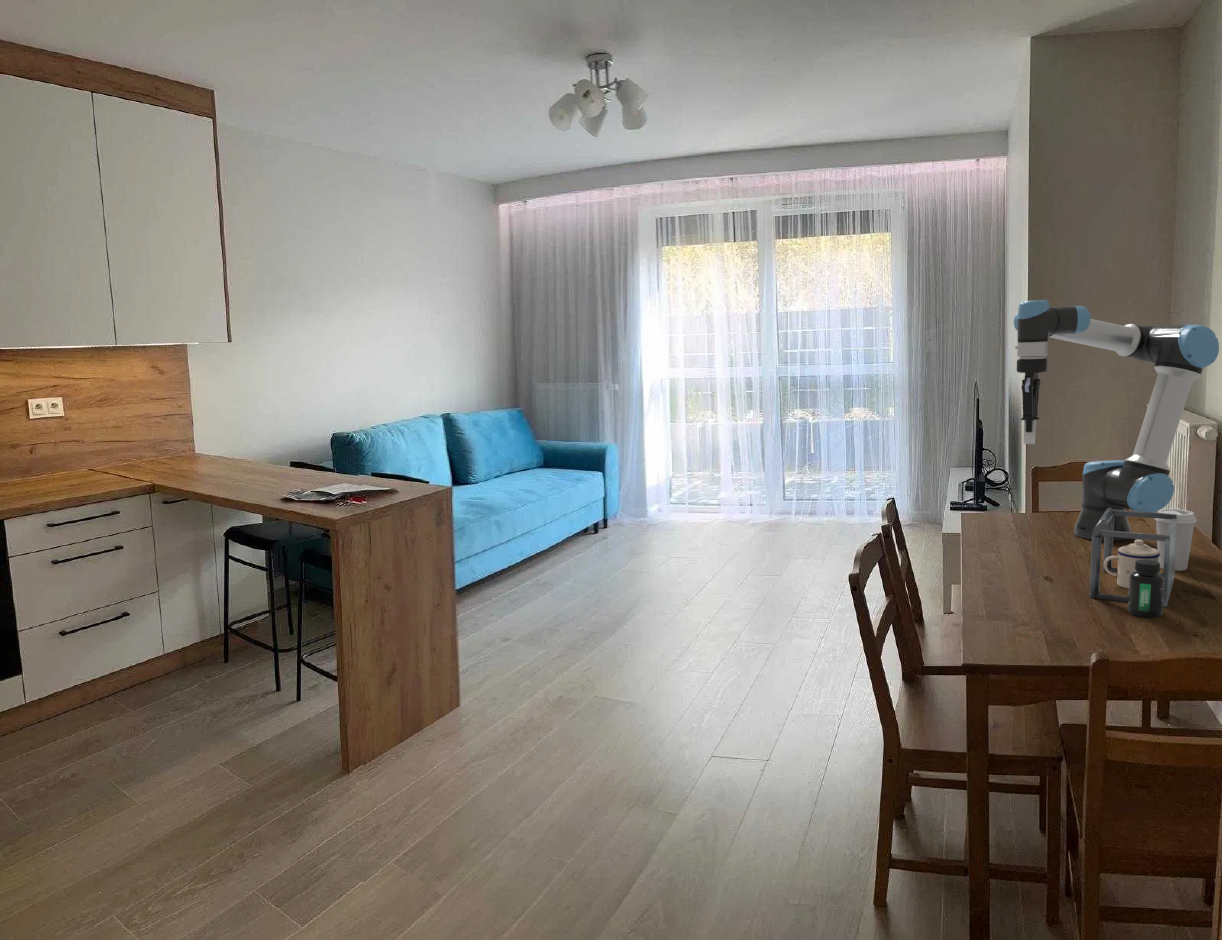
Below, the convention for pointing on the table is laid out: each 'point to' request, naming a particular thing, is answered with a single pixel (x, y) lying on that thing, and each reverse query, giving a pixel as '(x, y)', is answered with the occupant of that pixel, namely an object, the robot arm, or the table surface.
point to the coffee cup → (1183, 536)
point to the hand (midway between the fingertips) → (1029, 443)
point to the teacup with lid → (1131, 560)
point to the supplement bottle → (1146, 590)
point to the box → (1108, 533)
